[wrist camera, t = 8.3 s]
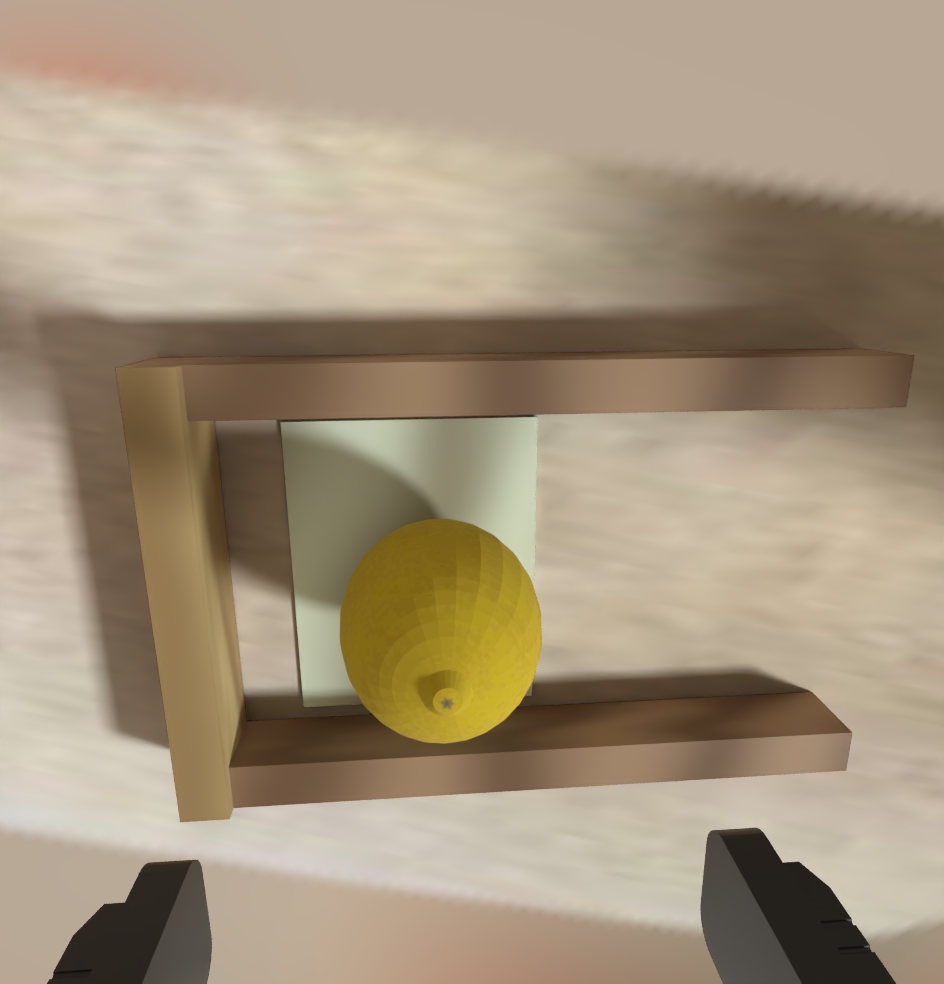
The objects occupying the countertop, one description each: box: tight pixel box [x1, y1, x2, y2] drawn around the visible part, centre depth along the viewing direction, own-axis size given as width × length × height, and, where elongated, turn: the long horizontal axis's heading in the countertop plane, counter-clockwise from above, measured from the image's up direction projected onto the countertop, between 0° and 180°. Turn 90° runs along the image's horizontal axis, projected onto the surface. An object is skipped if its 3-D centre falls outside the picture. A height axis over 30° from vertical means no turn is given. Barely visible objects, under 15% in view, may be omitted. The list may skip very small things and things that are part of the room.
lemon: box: [340, 519, 542, 744], centre depth 20 cm, size 6×6×8 cm
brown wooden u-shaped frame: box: [115, 349, 914, 822], centre depth 22 cm, size 22×14×3 cm, turn 90°
